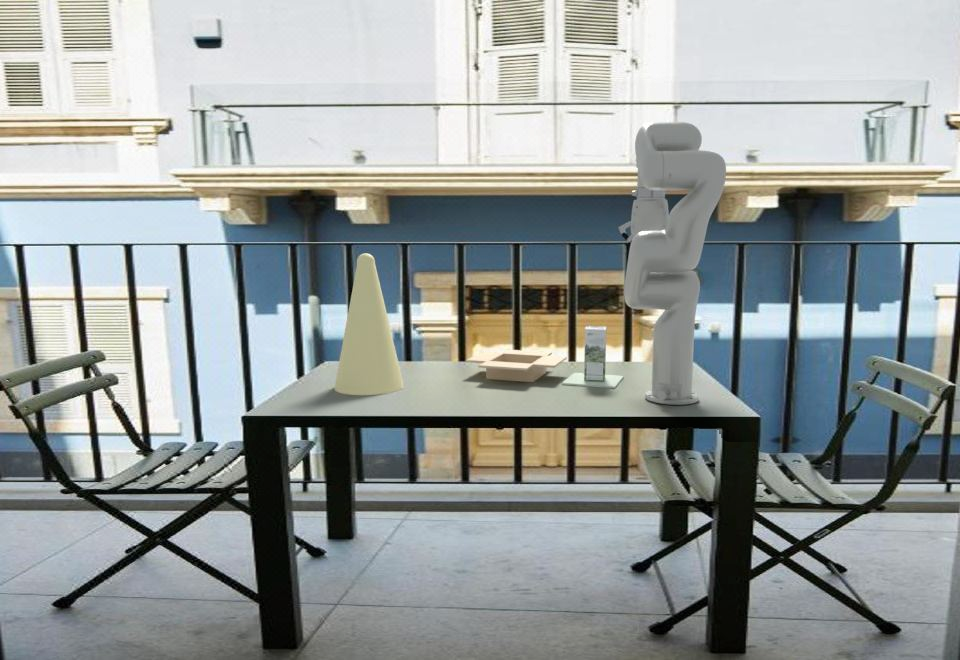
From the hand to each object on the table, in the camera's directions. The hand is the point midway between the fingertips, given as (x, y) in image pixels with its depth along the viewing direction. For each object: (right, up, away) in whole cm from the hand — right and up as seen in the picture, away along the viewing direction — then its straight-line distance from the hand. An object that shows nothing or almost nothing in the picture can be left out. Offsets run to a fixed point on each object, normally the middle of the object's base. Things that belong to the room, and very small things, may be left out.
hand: (649, 256), depth 198 cm
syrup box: (-16, -34, -6) cm, 38 cm away
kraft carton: (-37, -34, +2) cm, 50 cm away
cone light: (-78, -36, -8) cm, 86 cm away
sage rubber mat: (-17, -35, -6) cm, 39 cm away
